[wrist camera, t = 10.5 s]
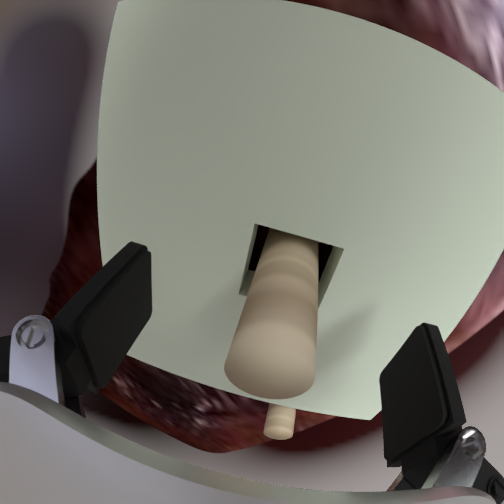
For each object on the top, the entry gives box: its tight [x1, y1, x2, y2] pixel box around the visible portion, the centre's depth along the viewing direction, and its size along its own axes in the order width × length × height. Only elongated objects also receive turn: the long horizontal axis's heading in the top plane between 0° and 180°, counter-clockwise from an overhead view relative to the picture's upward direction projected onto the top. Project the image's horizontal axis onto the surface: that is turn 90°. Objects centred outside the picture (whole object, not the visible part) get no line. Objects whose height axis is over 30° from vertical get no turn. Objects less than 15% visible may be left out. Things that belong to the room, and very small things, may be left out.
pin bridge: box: [97, 0, 504, 420], centre depth 14 cm, size 20×18×6 cm
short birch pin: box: [264, 403, 296, 440], centre depth 23 cm, size 2×2×5 cm
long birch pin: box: [224, 228, 318, 399], centre depth 12 cm, size 2×2×11 cm
